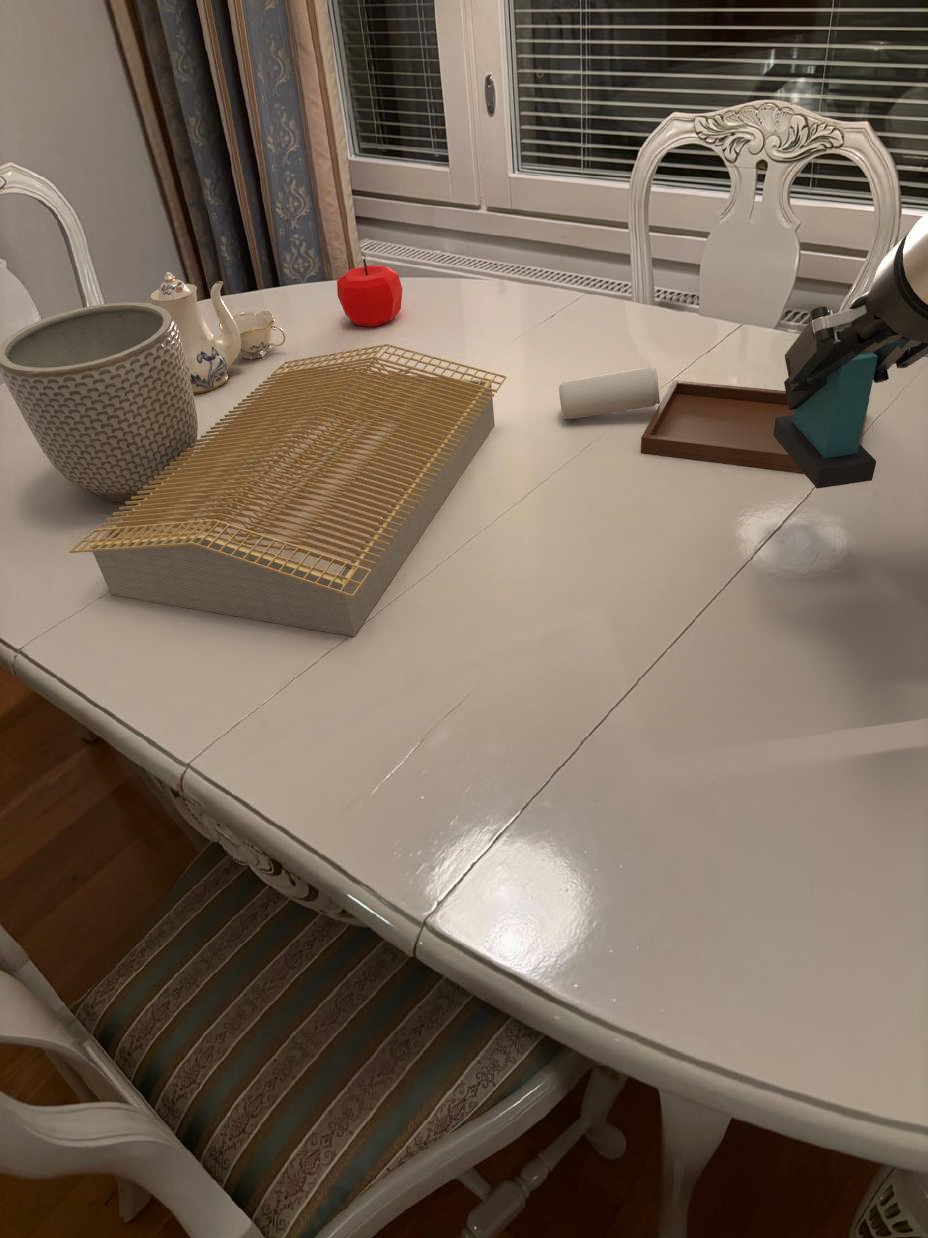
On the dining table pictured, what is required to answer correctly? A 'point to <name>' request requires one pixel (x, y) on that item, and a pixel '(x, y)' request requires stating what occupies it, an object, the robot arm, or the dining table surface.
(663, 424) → the tray
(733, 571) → the dining table surface
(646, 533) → the dining table surface
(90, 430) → the planter
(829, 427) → the teal block on base
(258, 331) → the chinaware
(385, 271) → the apple
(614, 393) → the beverage can
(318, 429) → the roof frame
